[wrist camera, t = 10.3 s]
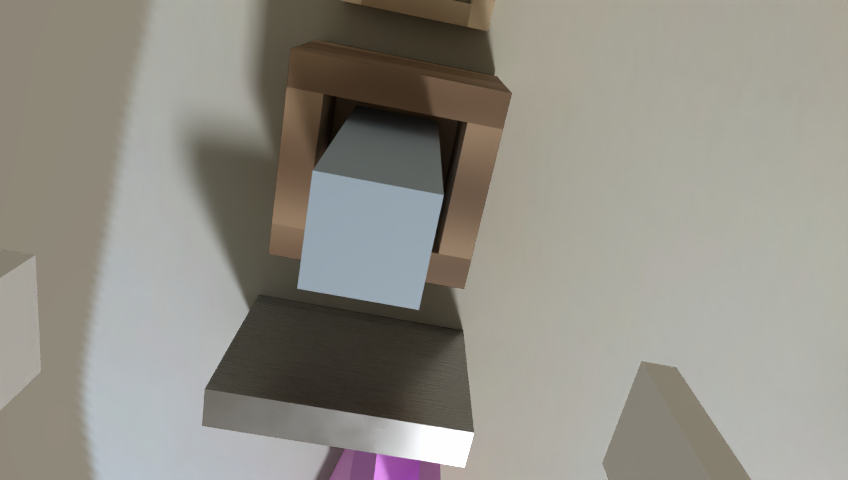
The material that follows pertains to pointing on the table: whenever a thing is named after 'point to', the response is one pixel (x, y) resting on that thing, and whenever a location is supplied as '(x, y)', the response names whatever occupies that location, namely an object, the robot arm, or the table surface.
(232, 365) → the backstop
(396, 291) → the light blue square peg
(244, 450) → the table surface
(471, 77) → the brown wooden box
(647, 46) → the table surface
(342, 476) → the bracket
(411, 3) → the stand
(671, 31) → the table surface
